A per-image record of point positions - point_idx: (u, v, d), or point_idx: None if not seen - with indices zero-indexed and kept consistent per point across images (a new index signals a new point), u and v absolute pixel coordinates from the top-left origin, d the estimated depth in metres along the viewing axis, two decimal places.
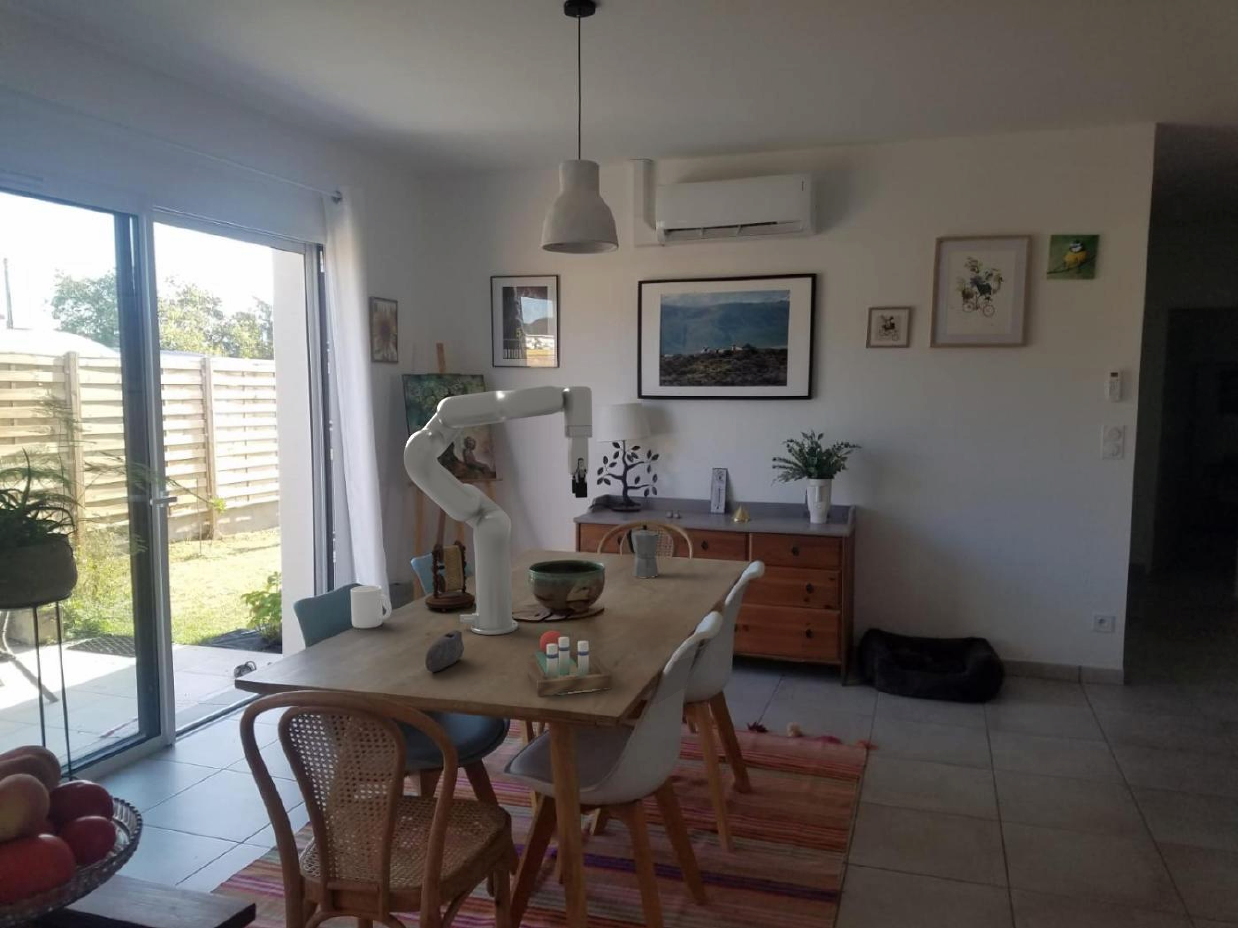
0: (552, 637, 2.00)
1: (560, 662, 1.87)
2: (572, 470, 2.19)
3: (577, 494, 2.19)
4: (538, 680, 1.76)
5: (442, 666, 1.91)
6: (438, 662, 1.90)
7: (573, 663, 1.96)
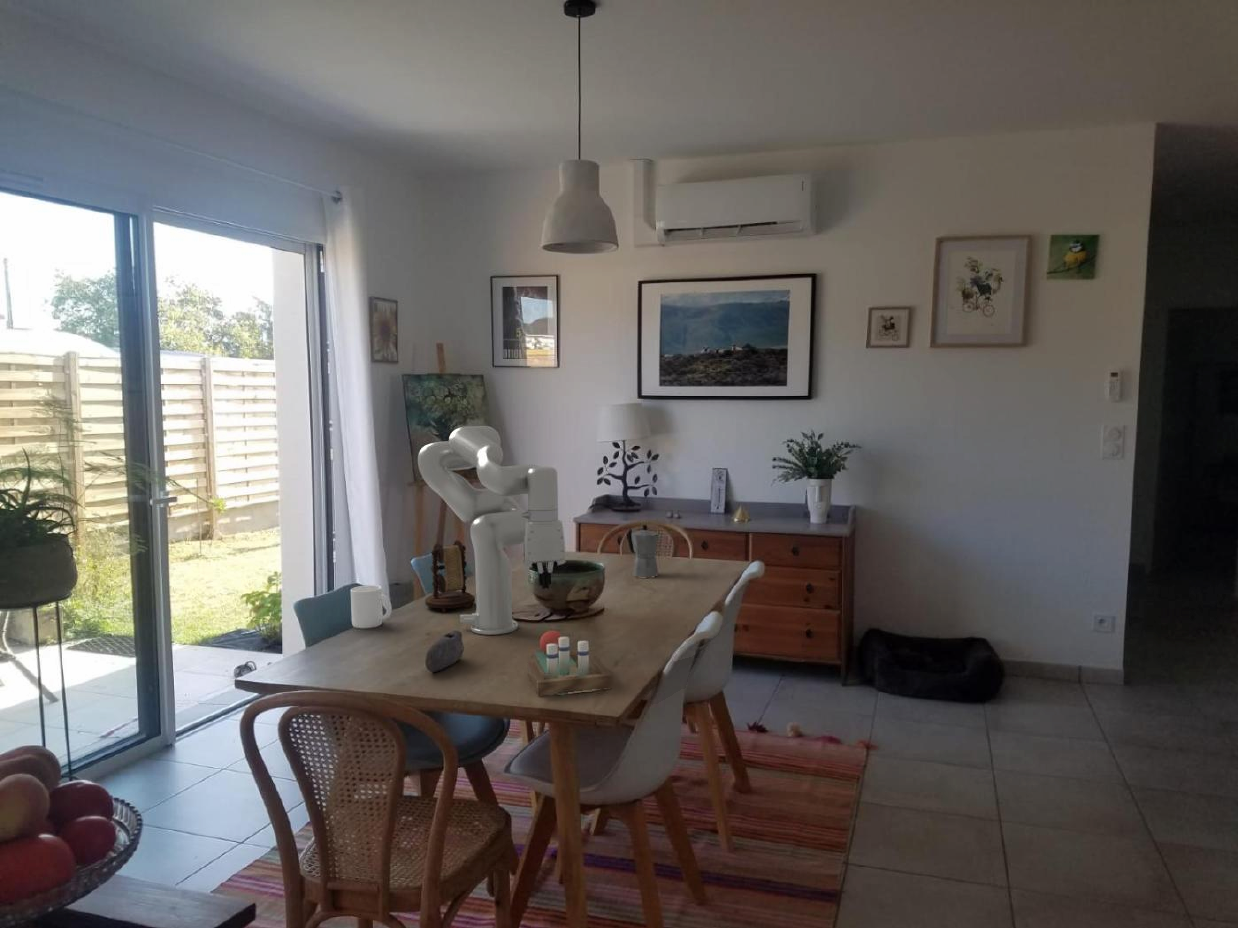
0: (552, 637, 2.00)
1: (560, 662, 1.87)
2: None
3: (548, 584, 2.10)
4: (538, 680, 1.76)
5: (442, 666, 1.91)
6: (438, 662, 1.90)
7: (573, 663, 1.96)
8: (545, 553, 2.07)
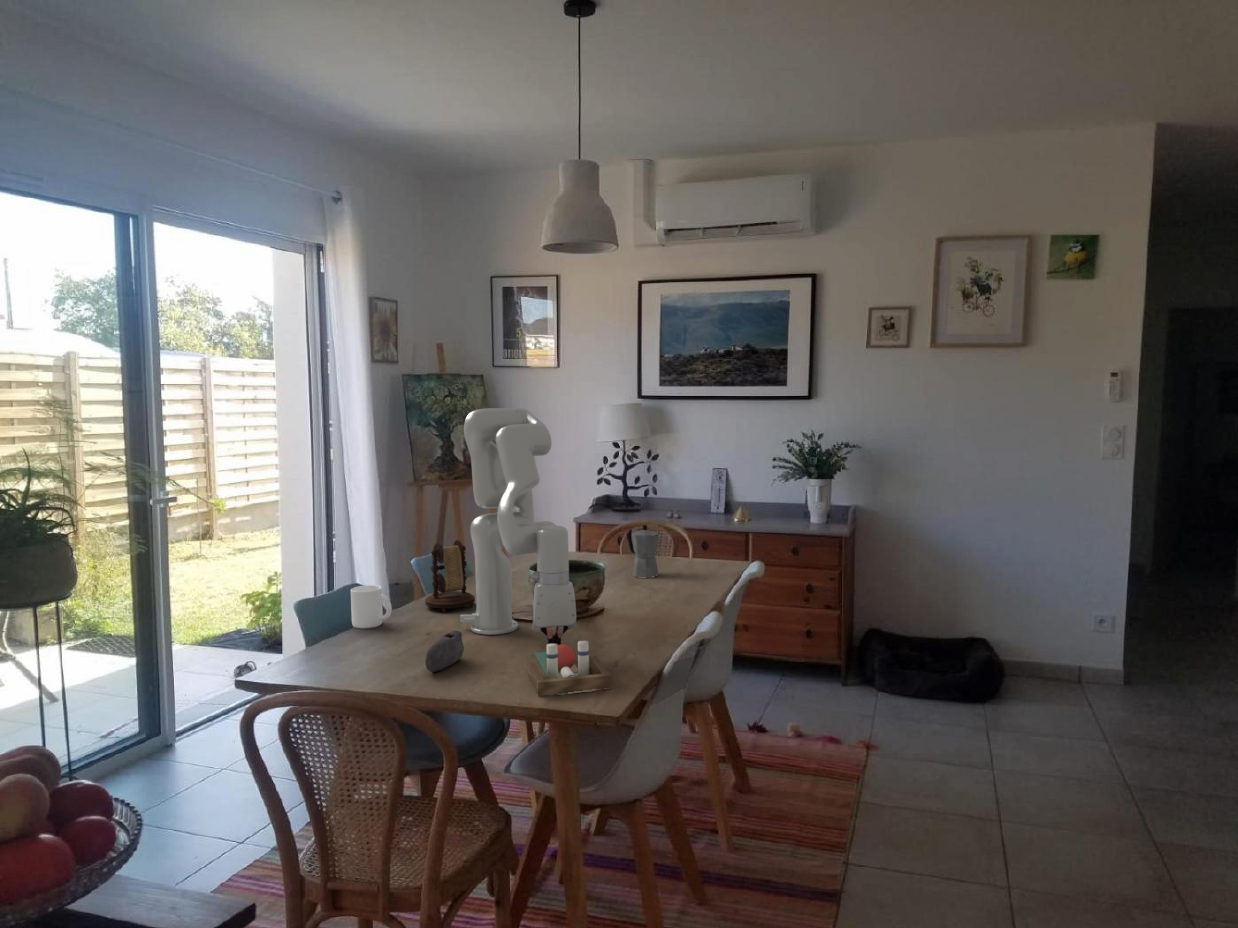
0: None
1: None
2: None
3: None
4: (538, 680, 1.76)
5: (442, 666, 1.91)
6: (438, 662, 1.90)
7: None
8: (555, 617, 1.96)
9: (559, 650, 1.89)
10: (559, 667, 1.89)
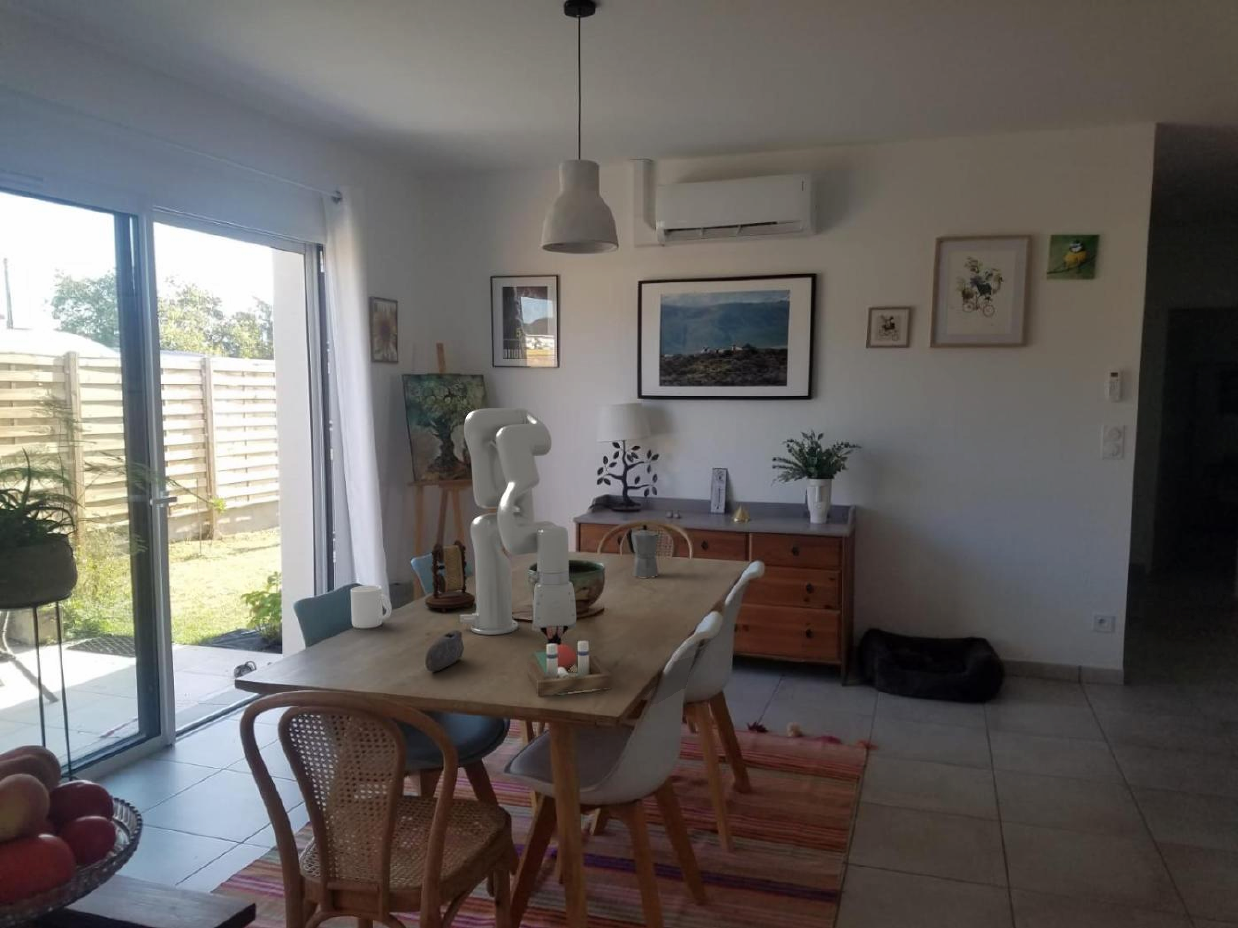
0: None
1: None
2: None
3: None
4: (538, 680, 1.76)
5: (442, 666, 1.91)
6: (438, 662, 1.90)
7: None
8: (555, 618, 1.96)
9: (559, 650, 1.89)
10: None
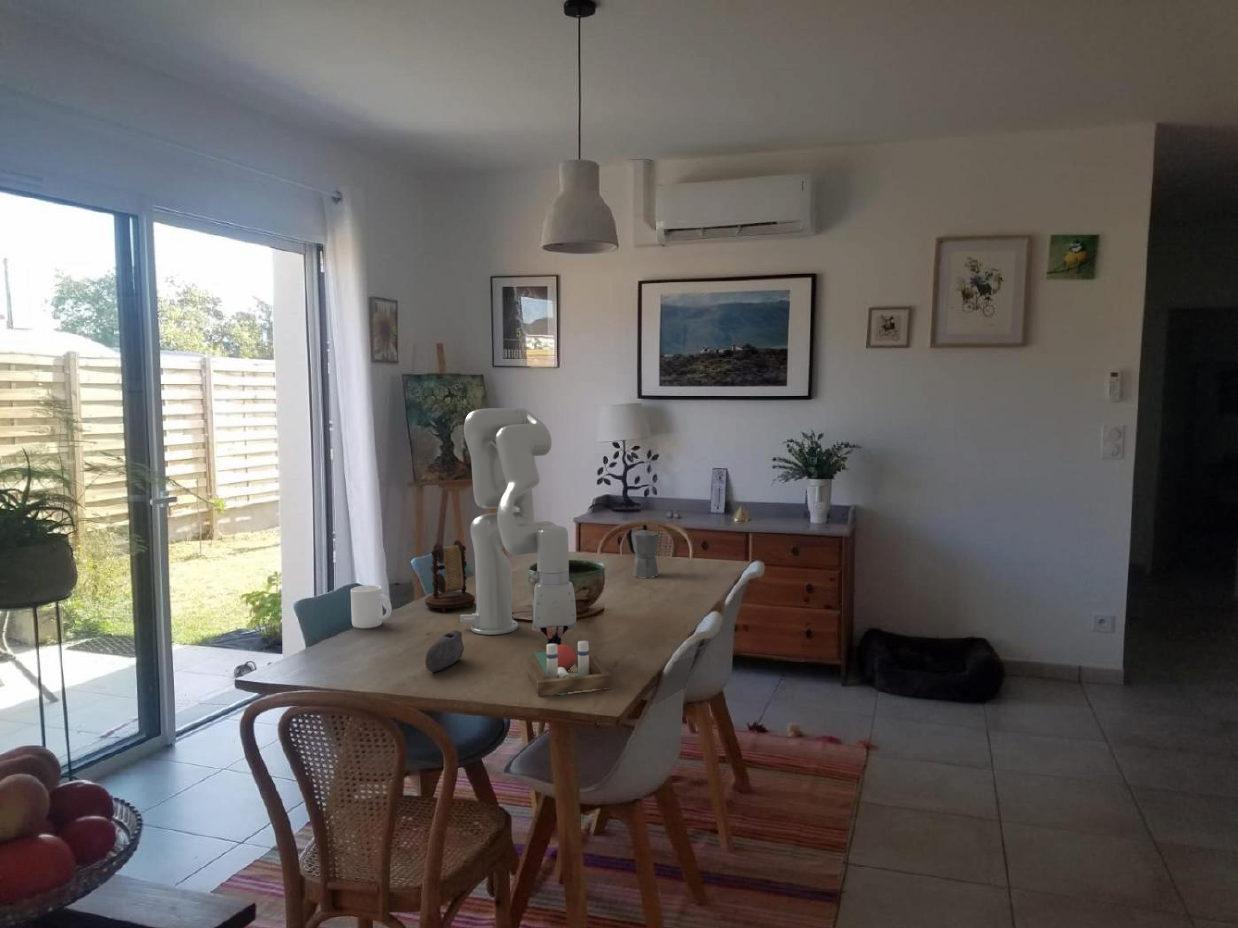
0: None
1: None
2: None
3: None
4: (538, 680, 1.76)
5: (442, 666, 1.91)
6: (438, 662, 1.90)
7: None
8: (555, 618, 1.96)
9: (559, 650, 1.89)
10: None
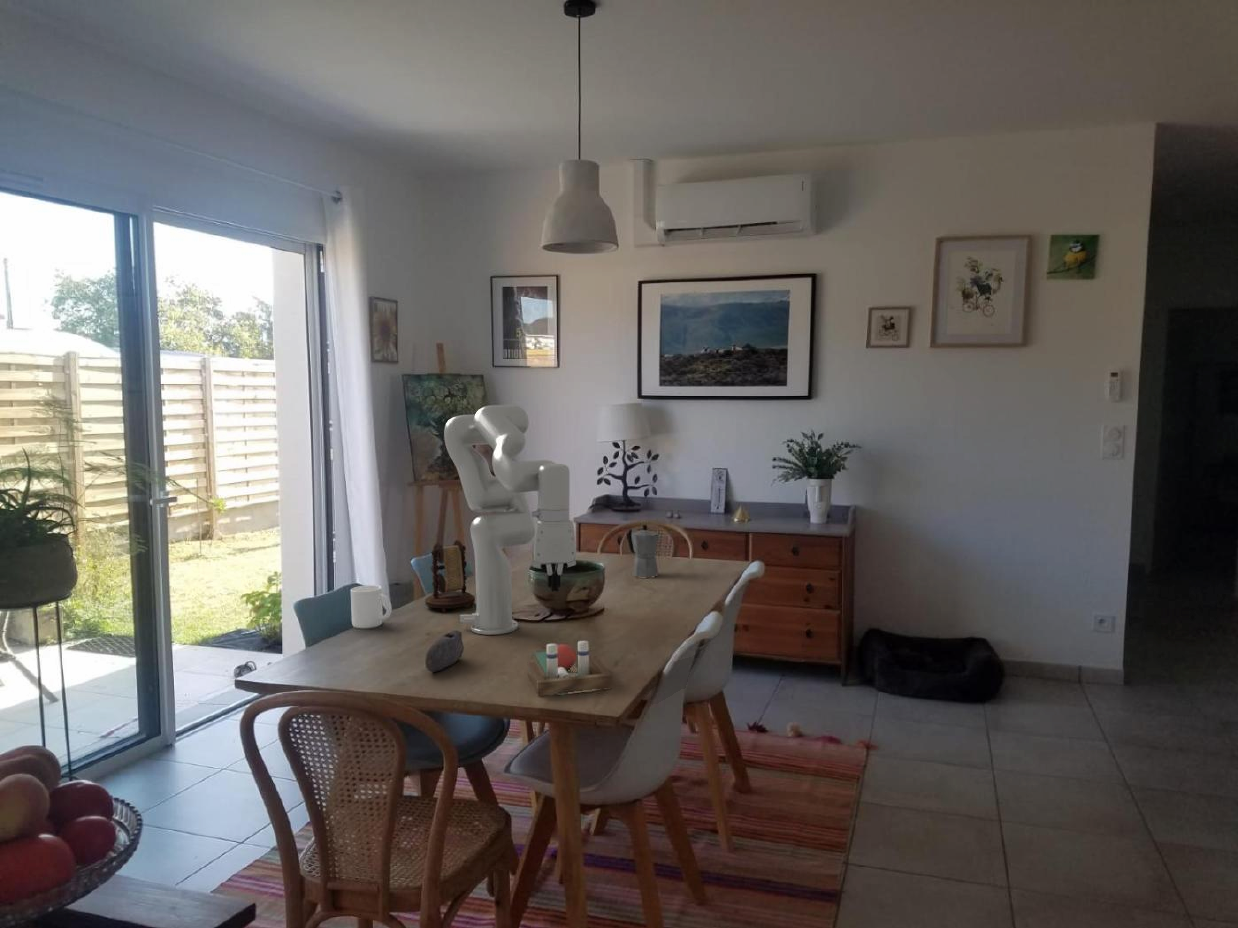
0: None
1: None
2: (575, 556, 1.99)
3: (557, 587, 2.00)
4: (538, 680, 1.76)
5: (442, 666, 1.91)
6: (438, 662, 1.90)
7: None
8: (555, 554, 1.97)
9: (559, 650, 1.89)
10: None
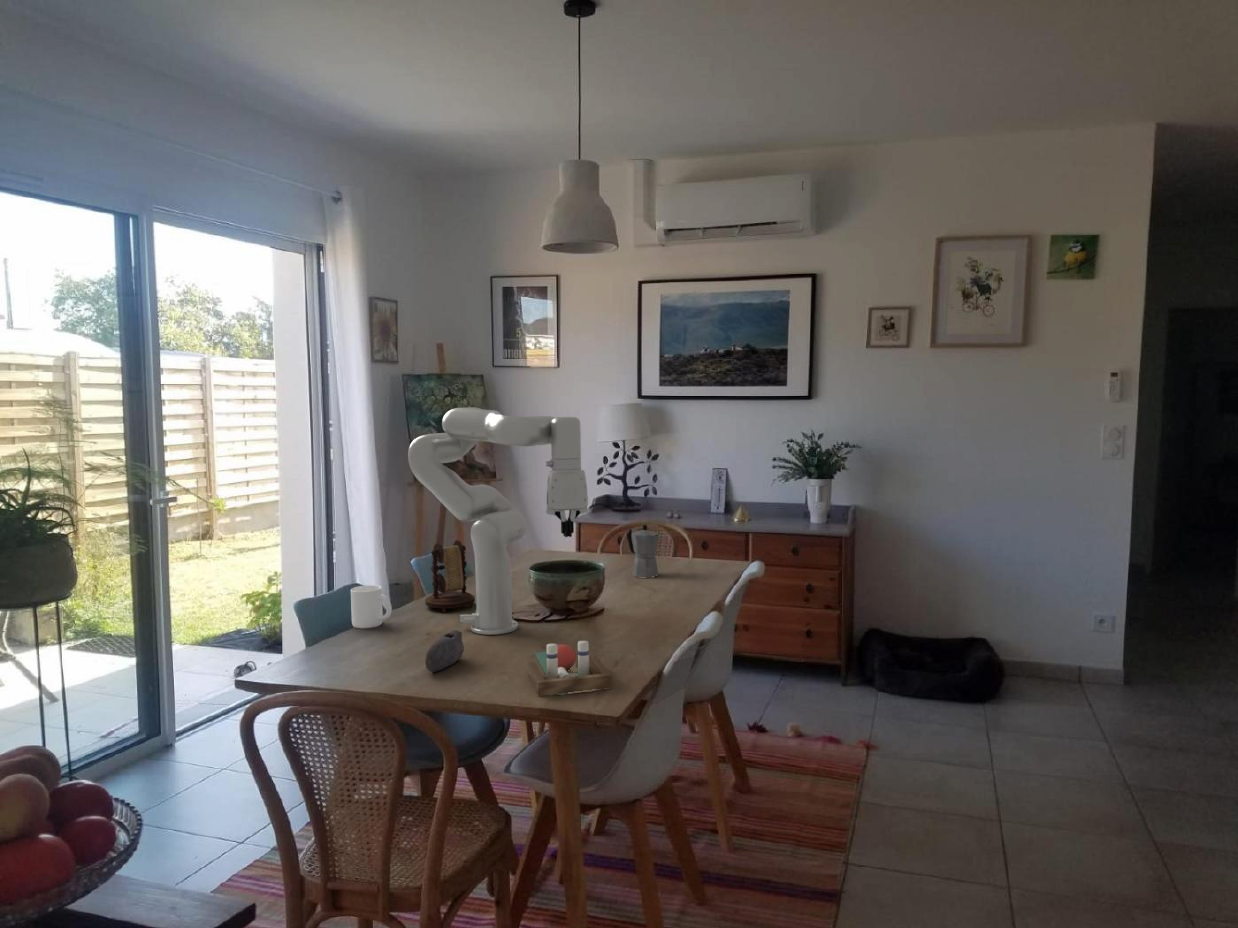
0: None
1: None
2: (587, 503, 2.12)
3: None
4: (538, 680, 1.76)
5: (442, 666, 1.91)
6: (438, 662, 1.90)
7: None
8: (568, 501, 2.10)
9: (559, 650, 1.89)
10: None
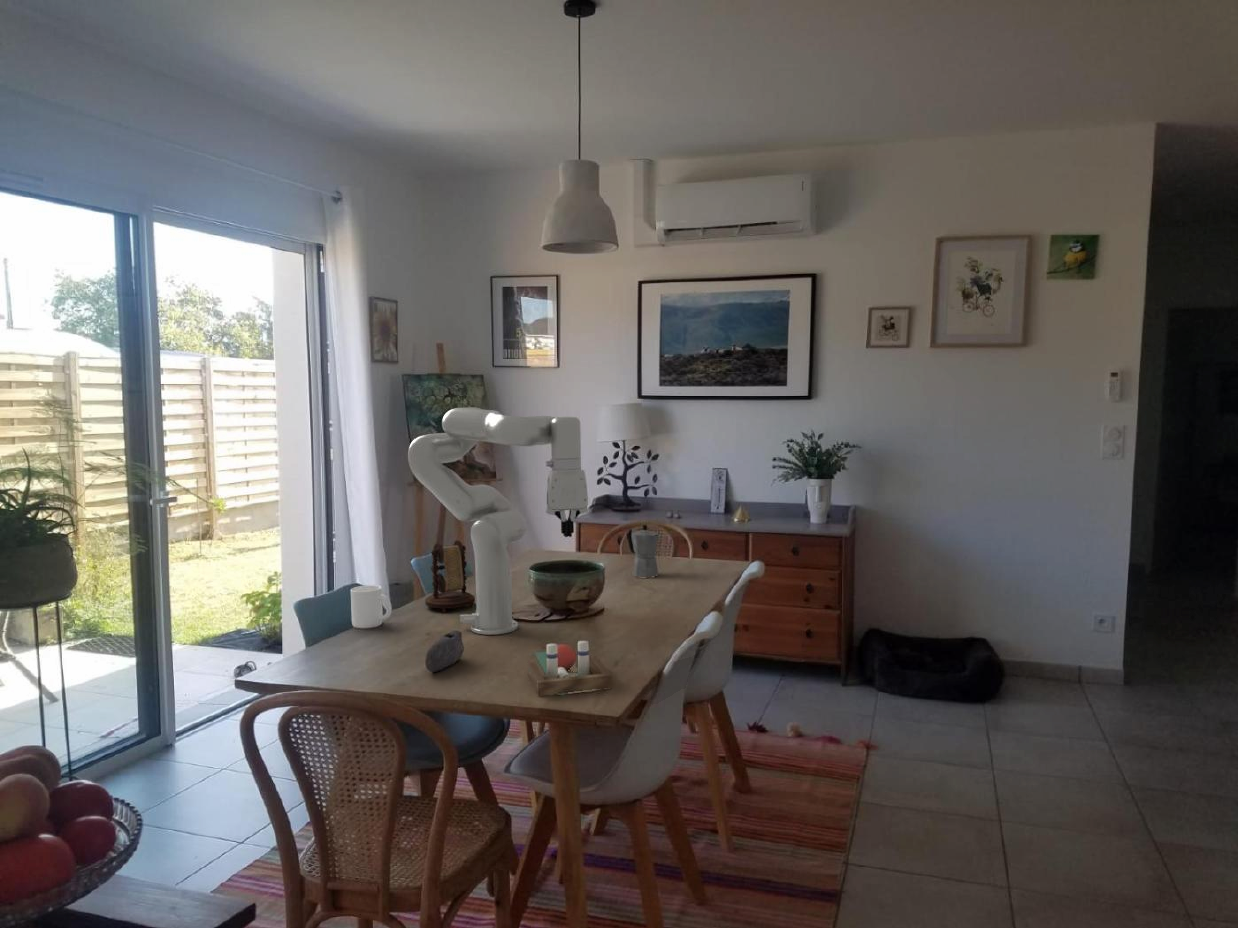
0: None
1: None
2: (587, 503, 2.12)
3: None
4: (538, 680, 1.76)
5: (442, 666, 1.91)
6: (438, 662, 1.90)
7: None
8: (568, 501, 2.10)
9: (559, 650, 1.89)
10: None
